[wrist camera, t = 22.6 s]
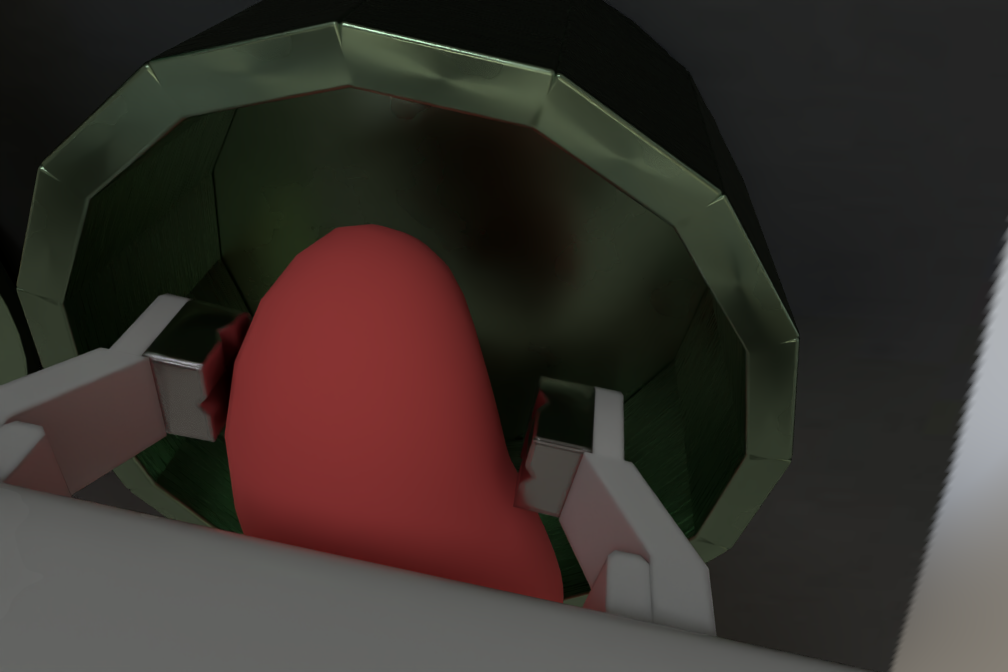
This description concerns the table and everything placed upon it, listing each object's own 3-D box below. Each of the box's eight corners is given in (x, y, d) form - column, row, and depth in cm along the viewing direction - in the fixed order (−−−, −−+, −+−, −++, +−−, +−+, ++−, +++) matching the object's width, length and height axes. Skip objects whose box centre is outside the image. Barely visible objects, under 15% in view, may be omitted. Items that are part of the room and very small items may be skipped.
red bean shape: (326, 525, 18) (352, 790, 13) (156, 245, 12) (90, 550, 7) (512, 462, 18) (600, 695, 14) (439, 164, 12) (553, 397, 8)
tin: (638, 484, 21) (645, 674, 17) (218, 391, 21) (105, 556, 16) (854, 41, 13) (995, 171, 8) (157, -121, 13) (-114, -85, 8)
